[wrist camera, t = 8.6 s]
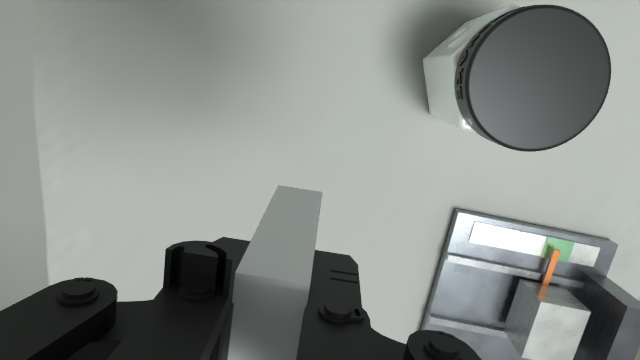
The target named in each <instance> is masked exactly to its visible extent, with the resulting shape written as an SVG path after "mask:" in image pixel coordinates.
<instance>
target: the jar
mask: <svg viewBox="0 0 640 360" xmlns="http://www.w3.org/2000/svg"><path fill="white" fill-rule="evenodd" d="M423 68H424V75H425V82H426V89H427V96H428V104H429V111H430V115H432V116H434V117H436V118H438V119H441V120H443V121H445V122H448V123H450V124H452V125H455V126H457V127H459V128H462V129H464V130H467V131H470V132H473V133H476V134H479V135H481V136H482V137H484V138H486V139H488V140H490V141H492V142H495V143H497V144H499V145H502V146H504V147H507V148H510V149H513V150H518V151H541V150H547V149H551V148H554V147H557V146H559V145H562V144H564V143H566V142H568V141H569V140H571V139H573V138H574V137H575V136H577V135H578V134H580V133H581V132H582V131H583V130H584V129H585V128H586V127H587V126H588V125H589V124H590V123H591V122H592V121H593V119H594V118H595V117H596V115H597V114H598V112H599V111H600V109H601V107H602V105H603V103H604V101H605V98H606V96H607V93H608V89H609V85H610V79H611V62H610V56H609V52H608V48H607V46H606V43H605V41H604V39H603V37H602V35H601V34H600V32H599V31H598V29H597V28H596V27H595V26H594V25H593V24H592V23H591V22H590V21H589V20H588V19H587V18H585V17H584V16H582V15H581V14H579V13H578V12H575V11H573V10H571V9H568V8H565V7H561V6H556V5H533V6H527V7H519V6H516V5H509V6H507V7H504V8H501V9H499V10H496V11H493V12H491V13H488V14H485V15H483V16H480V17H478V18H475V19H472V20H470V21H467V22H466V23H464V24H463V25H462V26H461V27H460V28H459V29H457V30H456V31H455V32H454V33H453V34H452V35H450V36H449V37H448V38H447V39H446V40H445V41H443V42H442V43H441V44H440V45H439V46H438V47H436V48H435V49H434V50H433V51H432V52H431V53H429V54H428V55H427V56H426V57H425V58H424V59H423Z"/></svg>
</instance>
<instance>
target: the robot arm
mask: <svg viewBox="0 0 640 360" xmlns="http://www.w3.org/2000/svg"><path fill="white" fill-rule="evenodd" d="M321 197H322V192H318V191H311V190H305V189H299V188H292V187H286V186H280V185H278V187H277V189H276V191H275V193H274V195H273V197H272V199H271V201H270V203H269V205H268V207H267V209H266V211H265V213H264V215H263V217H262V219H261V221H260V223H259V225H258V228H257V230H256V232H255V234H254V236H253V238H252V240H251V241H245V240H239V239H233V238H226V237H222V238H220V239H218V240H216V241H214V242H208V241H185V242H180V243H177V244H173V245H172V246H170V247H169V248H167V249H166V253H165V268H164V282H163V288H162V289H161V291H160V292H159V293H158V294H157V296H156V297H155V298H154V300H148V301H131V302H117V290H116V288H115V287H114V285H112V284H110V283H108V282H106V281H104V280H98V279H94V278H75V279H72V280H66V281H61V282H59V283H56V284H54V285H51V286H49V287H47V288H45V289H43V290H41V291H39V292H37V293H35V294H33V295H31V296H29V297H27V298H25V299H23V300H21V301H19V302H17V303H16V304H13V305H12V306H10V307H8V308H6V309H4V310H2V311H0V360H481V358H480V357H479V356H478V355H477V353H476V352H475V351H474V350H473V349H472V348H471V347H470V346H469V345H468V344H466V343H465V342H463V341H462V340H460V339H458V338H456V337H455V336H454V335H451V334H449V333H445V332H442V331H434V330H421V331H416V332H414V333H413V334H411V335H410V336H409V338H408V341H407V344H403V343H400V342H398V341H395V340H392V339H390V338H388V337H385V336H383V335H381V334H380V333H378V332H376V331H375V330H373V329H372V328H371V325H370V319H369V316H368V314H367V312H366V311H365V310H364V309H363V308H362V304H361V293H360V284H359V272H358V264H357V263H356V262H355V261H354V260H353V259H352V258H351V257H350V255H343V254H337V253H330V252H324V251H318V250H315V244H316V236H317V228H318V221H319V213H320V205H321Z"/></svg>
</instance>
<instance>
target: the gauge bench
mask: <svg viewBox="0 0 640 360" xmlns="http://www.w3.org/2000/svg"><path fill="white" fill-rule="evenodd" d="M617 247H618V245H617V244H616V243H614V242H612V241H611V240H608V239H603V238H598V237H593V236H588V235H583V234H578V233H573V232H569V231H564V230H559V229H554V228H549V227H544V226H539V225H534V224H529V223H525V222H520V221H515V220H510V219H505V218H500V217H495V216H490V215H486V214H481V213H476V212H471V211H466V210H461V209H456V208H455V210H454V214H453V217H452V221H451V224H450V228H449V231H448V235H447V238H446V242H445V245H444V249H443V252H442V255H441V259H440V262H439V266H438V269H437V273H436V276H435V280H434V283H433V287H432V290H431V294H430V297H429V301H428V304H427V308H426V311H425V315H424V318H423V322H422V325H421V329H420V331H421V330H434V331H442V332H445V333H449V334H451V335H454V336H455V337H456V338H458V339H460V340H462V341H463V342H465V343H466V344H468V345H469V346H470V347H471V348H472V349H473V350H474V351H475V352H476V353H477V355H478V356H479V357H480V358H481V360H531V359H526V358H521V356H520V355H519V353H518V352H517V350H516V349H515V347H514V346H513V344H512V343H511V341H510V340H509V338H508V337H507V335H506V334H505V332H504V331H503V328H504V325H505V322H506V319H507V316H508V313H509V311H510V308H511V305H512V302H513V299H514V296H515V293H516V290H517V287H518V284H519V281H520V279H523V280H528V281H533V282H538V283H541V281H542V278H543V275H544V273H545V270H546V267H547V264H548V261H549V258H550V255H551V252H552V250H553V248H554V249H559V250H560V254H559V256H558V259H557V262H556V265H555V268H554V271H553V273H552V276H551V279H550V282H549V285H553V286H558V287H563V288H566V289H567V290H568V291H569V292H570V293H571V294H572V295H573V296H574V297H576V298H577V299H578V300H579V301H580V302H581V303H582V304H583V305H584V306H585V307H586V308H587V309H589V310H590V311H591V313H590V316H589V319H588V321H587V324H586V327H585V329H584V332H583V334H582V337H581V340H580V342H579V345H578V347H577V350H576V353H575V355H574V358H573V360H634V358H635V356H636V353H637V351H638V349H639V346H640V302H639V301H638V300H637V299H635V298H634V297H633V296H631V295H630V294H629V293H627V292H626V291H625V290H623V289H622V288H621V287H619V286H618V285H617V284H615V283H614V282H612V281H611V280H610V279H608V278H607V277H606V275H607V273H608V270H609V268H610V265H611V262H612V260H613V257H614V255H615V252H616V249H617Z"/></svg>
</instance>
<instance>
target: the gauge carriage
mask: <svg viewBox="0 0 640 360" xmlns="http://www.w3.org/2000/svg"><path fill="white" fill-rule="evenodd" d="M559 254H560V250H559V249H554V248H553V250H552V252H551V255H550V258H549V261H548V264H547V267H546V270H545V273H544V275H543V278H542V281H541V283H538V282H533V281H528V280H523V279H520V281H519V284H518V287H517V290H516V293H515V296H514V299H513V302H512V305H511V308H510V311H509V313H508V316H507V319H506V322H505V325H504V328H503V331H504V332H505V334H506V335H507V337H508V338H509V340H510V341H511V343H512V344H513V346H514V347H515V349H516V350H517V352H518V353H519V355H520V356H521V358H526V359H531V360H573V358H574V355H575V353H576V350H577V347H578V345H579V342H580V340H581V337H582V334H583V332H584V329H585V327H586V324H587V321H588V319H589V316H590V313H591V311H590V310H589V309H587V308H586V307H585V306H584V305H583V304H582V303H581V302H580V301H579V300H578V299H577V298H576V297H574V296H573V295H572V294H571V293H570V292H569V291H568V290H567V289H566V288H563V287H558V286H553V285H549V282H550V279H551V276H552V273H553V271H554V268H555V265H556V262H557V259H558V256H559Z"/></svg>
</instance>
